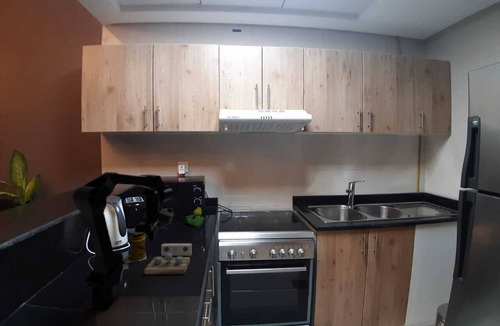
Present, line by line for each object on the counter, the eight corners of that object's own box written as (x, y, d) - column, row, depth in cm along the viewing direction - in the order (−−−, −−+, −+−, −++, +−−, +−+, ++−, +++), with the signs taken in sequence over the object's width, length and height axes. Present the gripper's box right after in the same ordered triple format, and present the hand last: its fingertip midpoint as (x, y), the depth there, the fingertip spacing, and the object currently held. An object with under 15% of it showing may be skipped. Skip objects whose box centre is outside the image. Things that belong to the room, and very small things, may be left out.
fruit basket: (185, 223, 152) (185, 207, 152) (196, 220, 159) (196, 205, 158) (195, 227, 145) (195, 210, 144) (206, 224, 152) (206, 208, 151)
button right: (181, 268, 93) (181, 259, 93) (174, 269, 93) (174, 259, 92) (183, 265, 96) (183, 256, 96) (176, 265, 96) (176, 256, 95)
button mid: (170, 265, 92) (170, 256, 92) (163, 265, 92) (163, 256, 92) (173, 261, 95) (173, 252, 95) (166, 262, 95) (166, 252, 95)
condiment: (147, 258, 101) (146, 233, 101) (126, 263, 97) (126, 237, 96) (144, 252, 108) (144, 229, 107) (125, 257, 103) (124, 232, 102)
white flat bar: (190, 255, 105) (190, 245, 105) (161, 255, 104) (161, 245, 104) (191, 253, 107) (191, 243, 107) (162, 253, 107) (162, 243, 106)
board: (184, 273, 89) (184, 269, 89) (144, 274, 89) (144, 269, 89) (189, 261, 99) (189, 257, 99) (154, 261, 99) (154, 257, 99)
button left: (160, 269, 92) (160, 259, 92) (153, 269, 92) (153, 259, 92) (162, 265, 95) (162, 256, 95) (155, 265, 95) (155, 256, 95)
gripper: (163, 210, 81) (164, 251, 82) (178, 199, 100) (178, 233, 101) (133, 210, 81) (134, 251, 82) (153, 199, 100) (153, 233, 100)
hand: (152, 241), depth 91 cm, fingers closed
